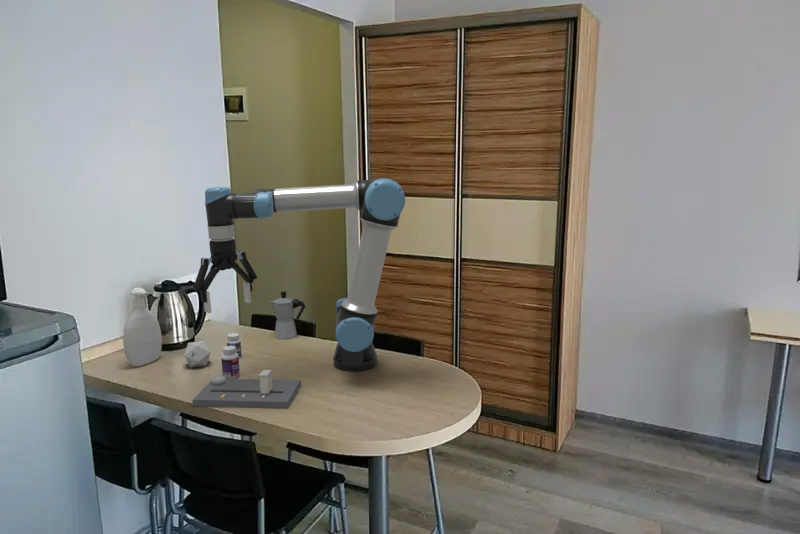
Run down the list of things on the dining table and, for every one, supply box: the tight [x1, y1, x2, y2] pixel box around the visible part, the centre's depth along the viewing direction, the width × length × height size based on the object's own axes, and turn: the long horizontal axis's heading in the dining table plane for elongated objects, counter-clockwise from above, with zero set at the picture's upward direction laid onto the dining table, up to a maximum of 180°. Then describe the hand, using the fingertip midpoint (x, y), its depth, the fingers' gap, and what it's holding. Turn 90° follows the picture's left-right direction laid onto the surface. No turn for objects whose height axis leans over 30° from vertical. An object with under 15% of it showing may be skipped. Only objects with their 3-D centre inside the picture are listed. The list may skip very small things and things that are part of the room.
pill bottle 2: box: [220, 345, 240, 379], centre depth 193 cm, size 5×5×10 cm
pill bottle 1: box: [226, 332, 242, 359], centre depth 211 cm, size 5×5×8 cm
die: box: [183, 340, 211, 369], centre depth 204 cm, size 8×9×10 cm
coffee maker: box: [268, 290, 306, 340], centre depth 232 cm, size 15×9×18 cm, turn 80°
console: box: [191, 375, 302, 409], centre depth 179 cm, size 28×16×4 cm, turn 85°
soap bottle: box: [122, 287, 163, 368], centre depth 204 cm, size 14×8×27 cm, turn 151°
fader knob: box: [258, 369, 273, 394], centre depth 176 cm, size 3×4×6 cm, turn 175°
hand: (228, 307), depth 183 cm, fingers open, 13 cm apart
